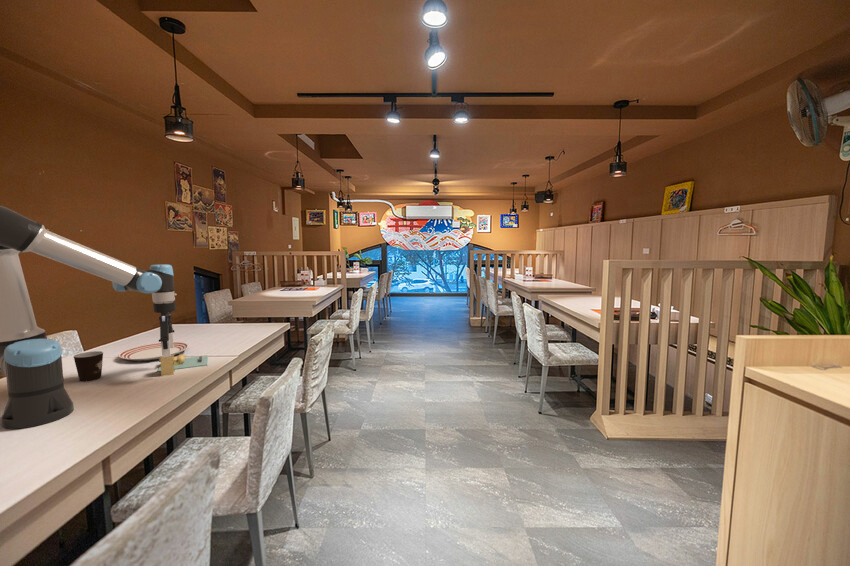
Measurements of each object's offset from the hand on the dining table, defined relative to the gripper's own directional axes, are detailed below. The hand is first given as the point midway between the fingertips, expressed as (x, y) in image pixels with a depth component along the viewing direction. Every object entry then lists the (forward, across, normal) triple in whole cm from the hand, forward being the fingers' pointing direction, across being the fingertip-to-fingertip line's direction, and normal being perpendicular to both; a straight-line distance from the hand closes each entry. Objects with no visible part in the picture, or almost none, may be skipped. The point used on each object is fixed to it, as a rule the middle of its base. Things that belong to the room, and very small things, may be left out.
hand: (168, 352), depth 151 cm
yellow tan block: (+9, 0, 0) cm, 9 cm away
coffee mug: (+9, +8, +26) cm, 28 cm away
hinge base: (+9, +12, -5) cm, 15 cm away
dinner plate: (+9, +34, +8) cm, 36 cm away
